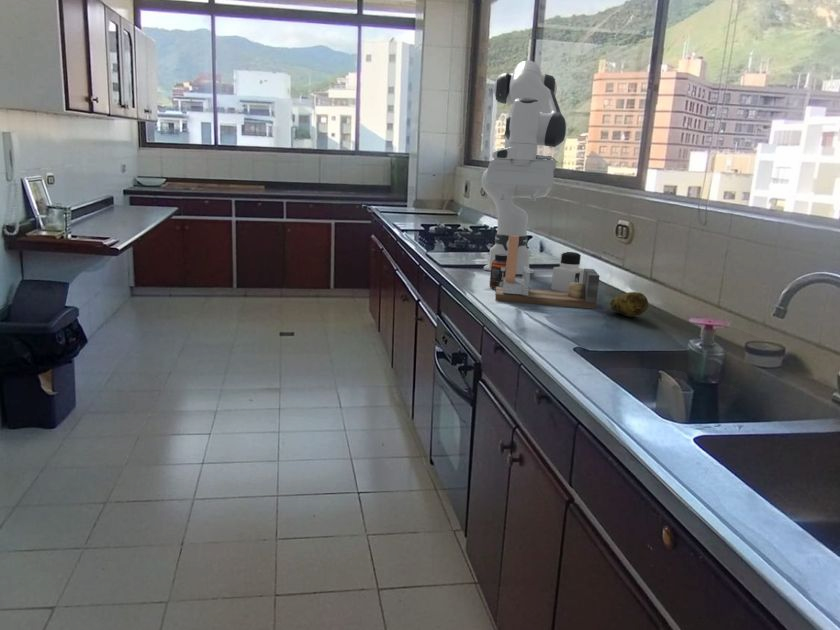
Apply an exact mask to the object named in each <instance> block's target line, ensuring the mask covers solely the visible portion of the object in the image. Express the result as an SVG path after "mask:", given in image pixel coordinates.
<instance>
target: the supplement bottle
mask: <svg viewBox="0 0 840 630" xmlns="http://www.w3.org/2000/svg"><path fill="white" fill-rule="evenodd" d="M506 263H507V255H506V254H495V260H493V261H492V264H491V271H490V275H489V276H490V278H489V287H490V288H491V289H492V290H493V289H494V290H496V287H502V285H503V277H504V278H505V273H506Z"/></svg>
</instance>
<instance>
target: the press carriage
mask: <svg viewBox="0 0 840 630" xmlns="http://www.w3.org/2000/svg"><path fill="white" fill-rule="evenodd" d="M518 244H519V236H516V235H509V241H508V252H507V263H506V273H505V278H504V277H503V285H502V289H503V293H509V294H522V295H526V296H528V291H529V289H530V278H531V273H530V270H529V268H530V266H529V267H528V266H523V273H522V274H521V276H522V277H521V278H516V275H517V274H516V265H517V255H518Z"/></svg>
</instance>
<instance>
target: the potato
mask: <svg viewBox="0 0 840 630" xmlns="http://www.w3.org/2000/svg"><path fill="white" fill-rule="evenodd" d="M609 304H610V308H611V310H612V311H613V312H615V313H617V314H620V315H622V316H625V317H627V318H635V317H637V316H641V315H642V314H643V313H645V312H646V311H647V310H648V308H649V301H648V298H647V296H646V295H645V294H643V293H641V292H635V291H629V292H627V293H624V294H621V295H619V296H616V297H614V298H612V299H611V300H610V303H609Z"/></svg>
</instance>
